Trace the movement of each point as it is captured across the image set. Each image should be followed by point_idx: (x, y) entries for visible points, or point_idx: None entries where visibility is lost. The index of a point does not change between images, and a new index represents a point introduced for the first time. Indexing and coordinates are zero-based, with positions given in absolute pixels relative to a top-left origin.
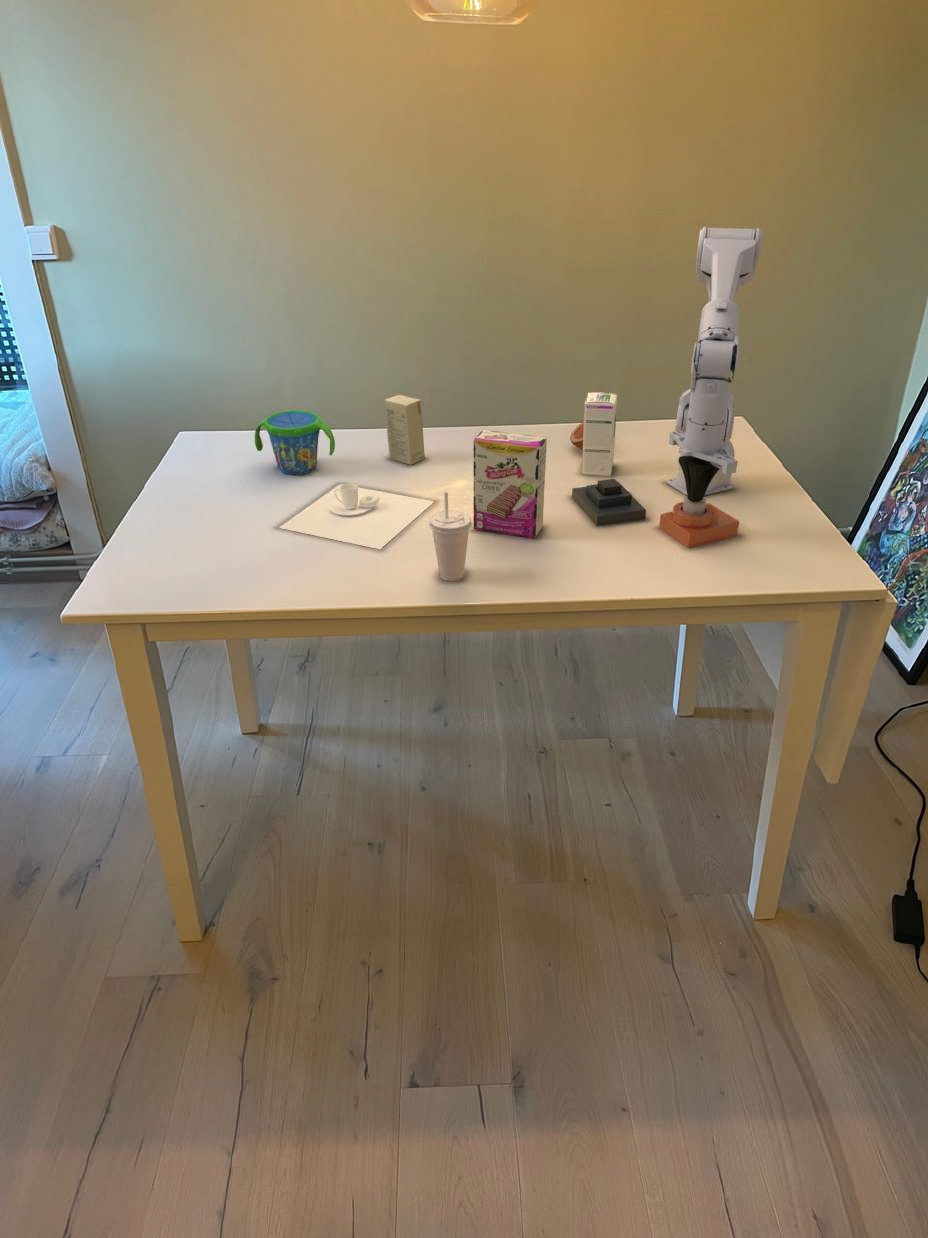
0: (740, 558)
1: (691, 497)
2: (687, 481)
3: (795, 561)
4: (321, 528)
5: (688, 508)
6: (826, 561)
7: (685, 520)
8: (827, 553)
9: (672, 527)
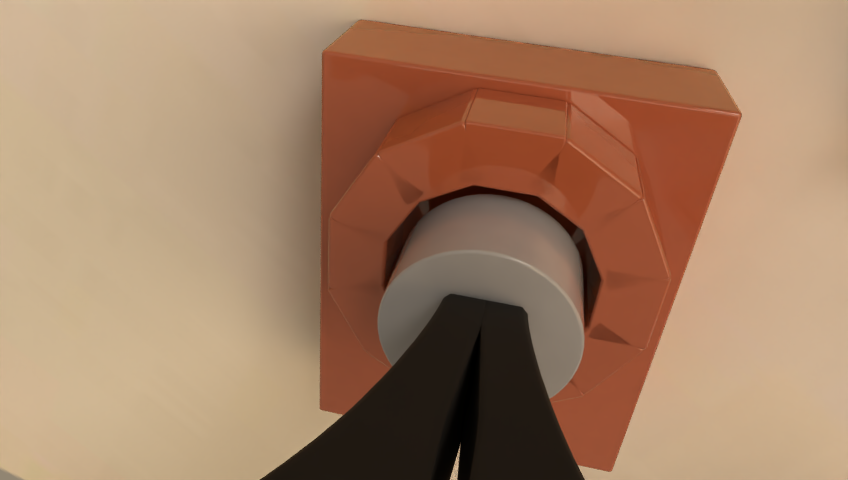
0: (136, 181)
1: (451, 312)
2: (508, 430)
3: (43, 339)
4: None
5: (458, 224)
6: (17, 413)
7: (425, 124)
8: (73, 459)
9: (552, 69)
